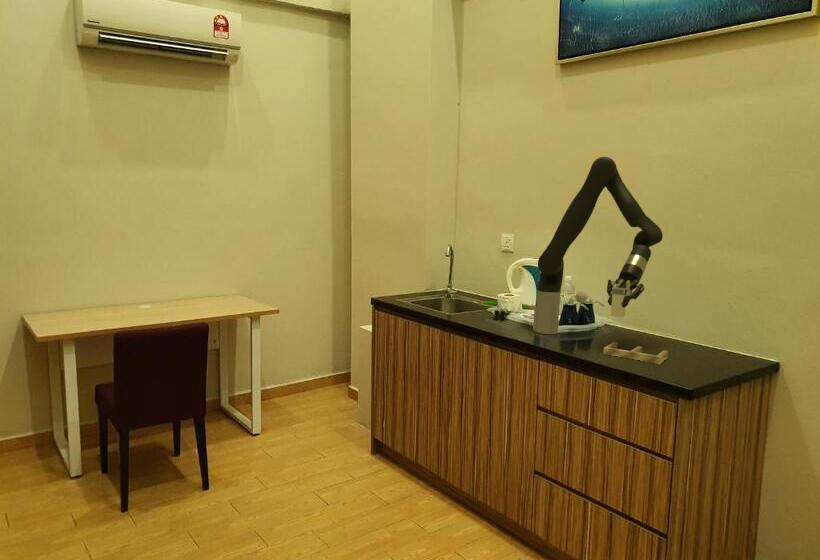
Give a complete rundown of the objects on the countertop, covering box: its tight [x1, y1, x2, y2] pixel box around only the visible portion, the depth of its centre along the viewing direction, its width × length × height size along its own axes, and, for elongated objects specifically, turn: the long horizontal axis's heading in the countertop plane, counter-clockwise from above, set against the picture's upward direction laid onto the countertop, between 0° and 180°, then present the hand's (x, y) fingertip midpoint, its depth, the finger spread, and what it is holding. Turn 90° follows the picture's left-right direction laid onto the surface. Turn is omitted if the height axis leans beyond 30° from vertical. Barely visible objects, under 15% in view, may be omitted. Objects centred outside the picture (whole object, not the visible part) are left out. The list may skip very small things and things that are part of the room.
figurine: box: [476, 300, 537, 321], centre depth 298 cm, size 28×6×30 cm
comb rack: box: [602, 341, 669, 365], centre depth 230 cm, size 20×12×2 cm, turn 56°
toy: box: [567, 290, 594, 305], centre depth 281 cm, size 11×7×15 cm, turn 84°
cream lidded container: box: [610, 286, 627, 318], centre depth 234 cm, size 4×4×10 cm
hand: (616, 304), depth 232 cm, fingers closed on cream lidded container, 4 cm apart
